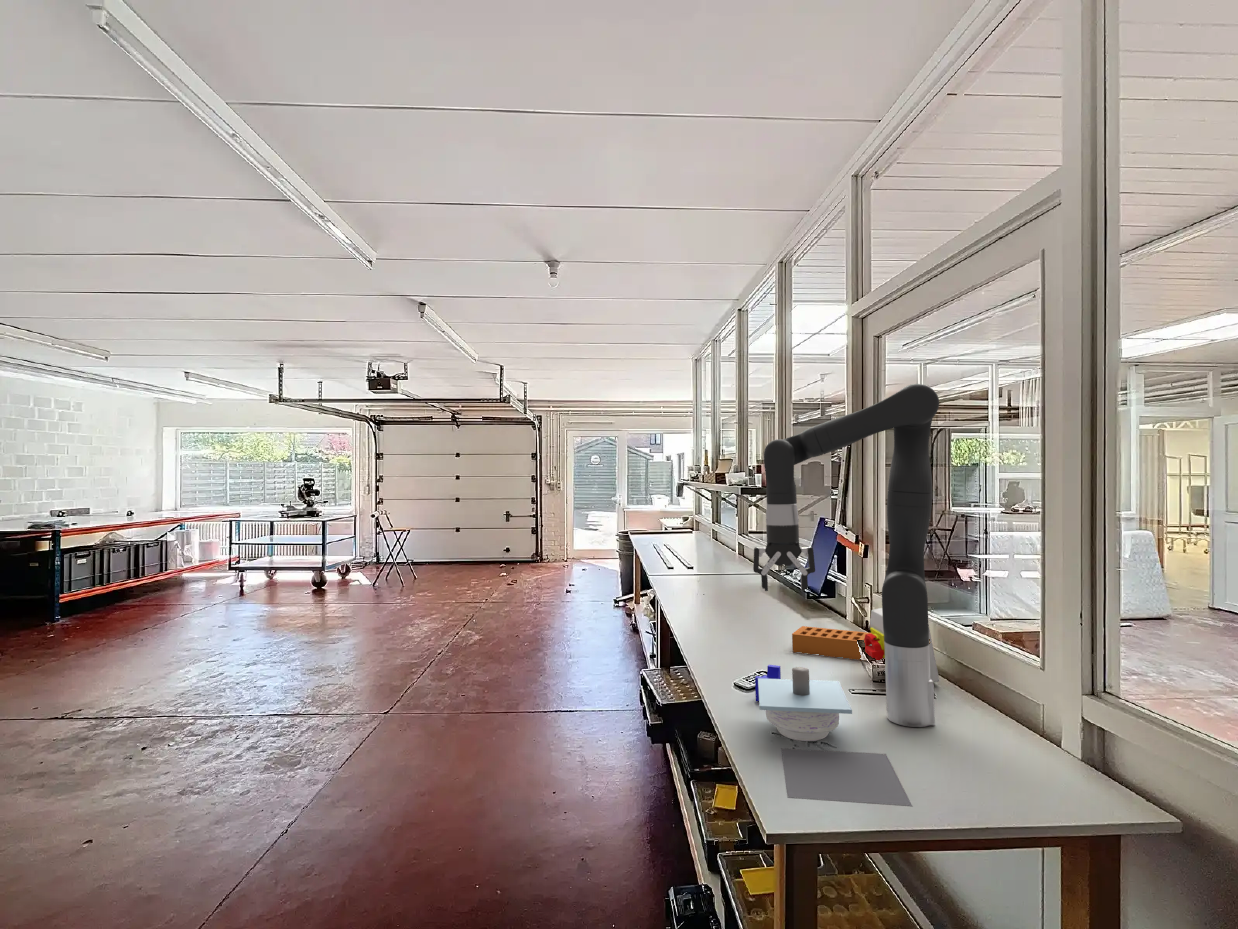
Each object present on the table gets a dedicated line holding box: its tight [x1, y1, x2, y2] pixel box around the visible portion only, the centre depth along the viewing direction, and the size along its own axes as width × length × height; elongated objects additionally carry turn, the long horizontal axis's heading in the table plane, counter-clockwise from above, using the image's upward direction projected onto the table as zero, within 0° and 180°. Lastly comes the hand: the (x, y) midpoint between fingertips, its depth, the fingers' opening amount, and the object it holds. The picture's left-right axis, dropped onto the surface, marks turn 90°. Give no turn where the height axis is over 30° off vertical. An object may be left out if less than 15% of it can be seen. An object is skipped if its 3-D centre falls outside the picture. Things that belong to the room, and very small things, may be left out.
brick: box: [791, 625, 871, 661], centre depth 197 cm, size 25×12×6 cm, turn 58°
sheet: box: [758, 666, 853, 715], centre depth 136 cm, size 18×18×6 cm
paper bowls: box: [765, 710, 840, 742], centre depth 136 cm, size 15×15×8 cm
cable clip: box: [754, 664, 782, 702], centre depth 161 cm, size 12×4×6 cm, turn 150°
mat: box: [780, 747, 913, 807], centre depth 116 cm, size 20×20×1 cm
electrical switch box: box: [864, 607, 940, 683], centre depth 171 cm, size 15×15×20 cm
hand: (784, 590), depth 151 cm, fingers open, 8 cm apart
